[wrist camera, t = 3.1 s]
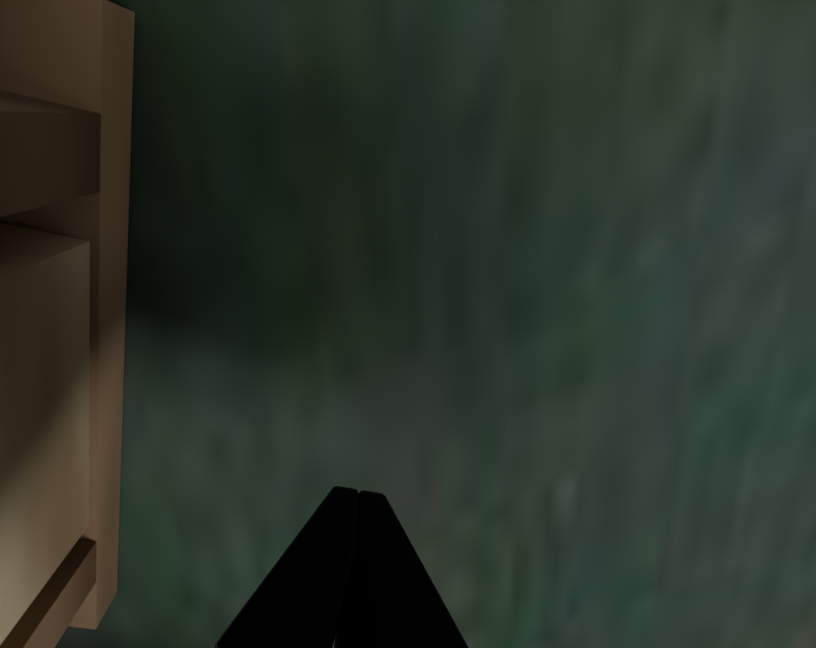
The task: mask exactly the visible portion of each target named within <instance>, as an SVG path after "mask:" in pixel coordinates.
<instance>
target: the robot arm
mask: <svg viewBox="0 0 816 648" xmlns="http://www.w3.org/2000/svg"><path fill="white" fill-rule="evenodd" d="M334 638H335V643H334V648H468V646H467V644H466V642H465V641H464V639H463V637H462V635H461V633H460V631H459V630H458V628H457V626H456V624H455V622H454V620H453V619H452V617H451V615H450V613H449V611H448V610H447V608H446V606H445V604H444V602H443V600H442V599H441V597H440V595H439V593H438V591H437V589H436V588H435V586H434V584H433V582H432V580H431V579H430V577H429V575H428V573H427V571H426V569H425V568H424V566H423V564H422V562H421V560H420V558H419V557H418V555H417V553H416V551H415V549H414V547H413V546H412V544H411V542H410V540H409V538H408V537H407V535H406V533H405V531H404V529H403V527H402V526H401V524H400V522H399V520H398V518H397V516H396V515H395V513H394V511H393V509H392V507H391V506H390V504H389V502H388V500H387V498H386V497H385V495H384V494H382V493H377V492H371V491H365V490H362V491H360V493H358V491H357V490H356V489H352V488H346V487H340V486H335V487H334V488H332V489H331V491H330V492H329V493H328V495H327V496H326V497H325V499H324V500H323V501H322V503H321V504H320V505H319V507H318V508H317V509H316V511H315V512H314V513H313V515H312V516H311V517H310V519H309V520H308V521H307V523H306V524H305V525H304V527H303V528H302V529H301V531H300V532H299V533H298V535H297V536H296V537H295V539H294V540H293V541H292V543H291V544H290V545H289V547H288V548H287V549H286V551H285V552H284V553H283V555H282V556H281V557H280V559H279V560H278V561H277V563H276V564H275V565H274V567H273V568H272V569H271V571H270V572H269V573H268V575H267V576H266V577H265V579H264V580H263V581H262V583H261V584H260V585H259V587H258V588H257V589H256V591H255V592H254V593H253V595H252V596H251V597H250V599H249V600H248V601H247V603H246V604H245V605H244V607H243V608H242V609H241V611H240V612H239V613H238V615H237V616H236V617H235V619H234V620H233V621H232V623H231V624H230V625H229V627H228V628H227V629H226V631H225V632H224V633H223V635H222V636H221V637H220V639H219V640H218V641H217V643H216V645H215V648H332V647H333V642H334Z"/></svg>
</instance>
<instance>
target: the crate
mask: <svg viewBox="0 0 816 648" xmlns="http://www.w3.org/2000/svg"><path fill="white" fill-rule="evenodd" d="M89 334H90V241H87V240H82V239H77V238H72V237H67V236H63V235H58V234H53V233H48V232H43V231H39V230H34V229H29V228H24V227H19V226H15V225H10V224H5V223H0V645H1V644H2V642H3V641H4V640H5V638H6V637H7V636H8V634H9V633H10V631H11V630H12V629H13V627H14V626H15V625H16V623H17V622H18V621H19V619H20V618H21V617H22V615H23V614H24V613H25V611H26V610H27V608H28V607H29V606H30V604H31V603H32V602H33V600H34V599H35V598H36V596H37V595H38V594H39V592H40V591H41V590H42V588H43V587H44V585H45V584H46V583H47V581H48V580H49V579H50V577H51V576H52V575H53V573H54V572H55V571H56V569H57V568H58V566H59V565H60V564H61V562H62V561H63V560H64V558H65V557H66V556H67V554H68V553H69V552H70V550H71V549H72V548H73V546H74V545H75V543H76V542H77V541H78V539H79V538H80V537H81V535H82V534H83V533H84V531H85V530H86V529H87V527H88V526H89Z"/></svg>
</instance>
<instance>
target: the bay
mask: <svg viewBox="0 0 816 648" xmlns="http://www.w3.org/2000/svg"><path fill="white" fill-rule="evenodd" d="M134 26H135V12H133V11H131V10H128V9H126V8H124V7H121V6H119V5H117V4H114V3H112V2H110V1H107V0H0V223H5V224H10V225H15V226H19V227H24V228H29V229H34V230H39V231H43V232H48V233H53V234H58V235H63V236H67V237H72V238H77V239H82V240H87V241H90V334H89V526H88V527H87V529H86V530H85V531H84V533H83V534H82V535H81V537H80V538H79V539H78V541H77V542H76V543H75V545H74V546H73V548H72V549H71V550H70V552H69V553H68V554H67V556H66V557H65V558H64V560H63V561H62V562H61V564H60V565H59V566H58V568H57V569H56V571H55V572H54V573H53V575H52V576H51V577H50V579H49V580H48V581H47V583H46V584H45V585H44V587H43V588H42V590H41V591H40V592H39V594H38V595H37V596H36V598H35V599H34V600H33V602H32V603H31V604H30V606H29V607H28V608H27V610H26V611H25V613H24V614H23V615H22V617H21V618H20V619H19V621H18V622H17V623H16V625H15V626H14V627H13V629H12V630H11V631H10V633H9V634H8V636H7V637H6V638H5V640H4V641H3V642H2V644H1V645H0V648H55V646H56V645H57V643H58V641H59V640H60V638H61V637H62V635H63V634H64V632H65V630H66V629H67V627H68V626H70V627H78V628H86V629H95V630H96V628H97V627H98V625H99V623H100V621H101V620H102V618H103V616H104V614H105V613H106V611H107V609H108V607H109V606H110V604H111V602H112V600H113V599H114V597H115V595H116V593H117V579H118V546H119V514H120V481H121V449H122V416H123V384H124V351H125V319H126V286H127V254H128V221H129V189H130V156H131V123H132V91H133V58H134Z"/></svg>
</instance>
